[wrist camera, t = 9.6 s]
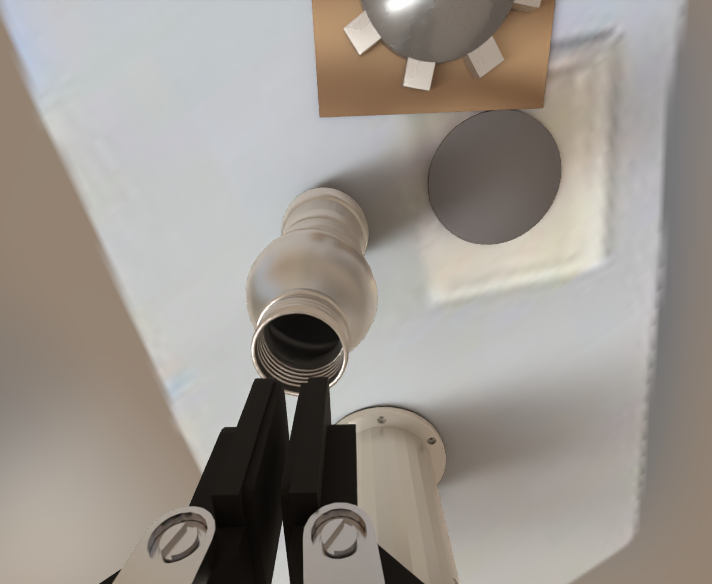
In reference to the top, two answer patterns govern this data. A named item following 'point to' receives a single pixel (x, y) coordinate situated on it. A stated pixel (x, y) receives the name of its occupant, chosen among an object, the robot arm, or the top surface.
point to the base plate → (449, 81)
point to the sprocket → (434, 33)
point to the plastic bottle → (312, 291)
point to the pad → (494, 176)
